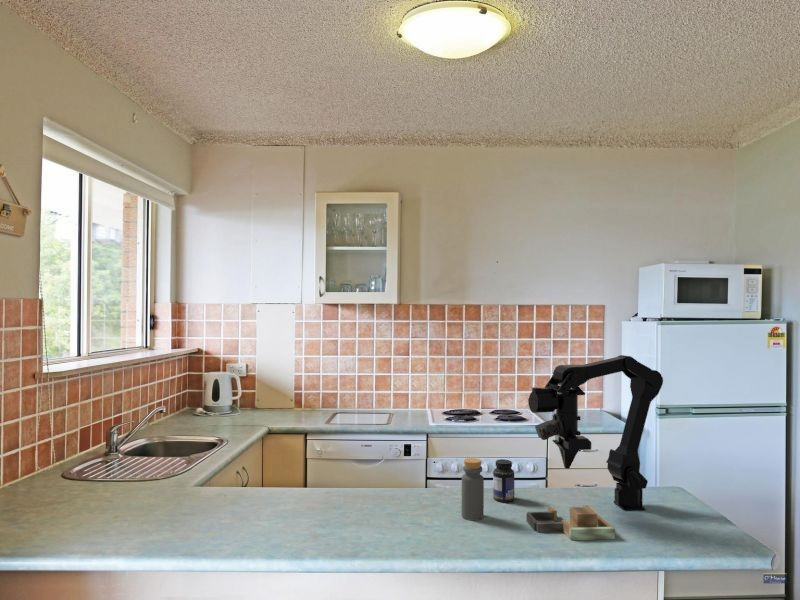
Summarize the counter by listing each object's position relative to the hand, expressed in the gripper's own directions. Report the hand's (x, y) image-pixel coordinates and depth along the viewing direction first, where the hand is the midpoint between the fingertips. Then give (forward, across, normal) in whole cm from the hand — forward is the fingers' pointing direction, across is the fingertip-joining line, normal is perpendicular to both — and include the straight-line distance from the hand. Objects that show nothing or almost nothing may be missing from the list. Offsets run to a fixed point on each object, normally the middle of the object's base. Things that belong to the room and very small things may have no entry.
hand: (566, 468), depth 156 cm
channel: (+12, +11, -4) cm, 16 cm away
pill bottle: (+12, -11, -15) cm, 22 cm away
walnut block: (+12, +13, -1) cm, 18 cm away
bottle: (+12, +2, -27) cm, 29 cm away
